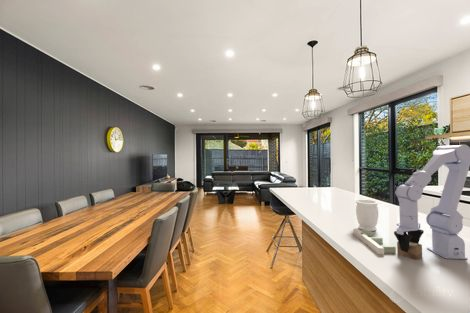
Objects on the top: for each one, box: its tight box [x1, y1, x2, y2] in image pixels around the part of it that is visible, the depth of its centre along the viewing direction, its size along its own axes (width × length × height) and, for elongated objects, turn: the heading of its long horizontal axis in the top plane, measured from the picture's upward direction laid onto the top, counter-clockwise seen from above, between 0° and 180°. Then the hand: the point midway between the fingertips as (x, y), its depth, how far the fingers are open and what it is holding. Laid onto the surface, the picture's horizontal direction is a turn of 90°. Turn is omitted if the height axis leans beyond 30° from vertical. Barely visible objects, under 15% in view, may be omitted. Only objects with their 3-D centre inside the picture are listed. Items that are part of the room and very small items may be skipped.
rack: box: [352, 228, 397, 256], centre depth 100 cm, size 24×8×3 cm, turn 174°
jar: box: [355, 199, 379, 232], centre depth 119 cm, size 11×10×15 cm
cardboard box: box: [396, 241, 423, 261], centre depth 87 cm, size 6×4×5 cm
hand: (409, 249), depth 87 cm, fingers open, 7 cm apart
